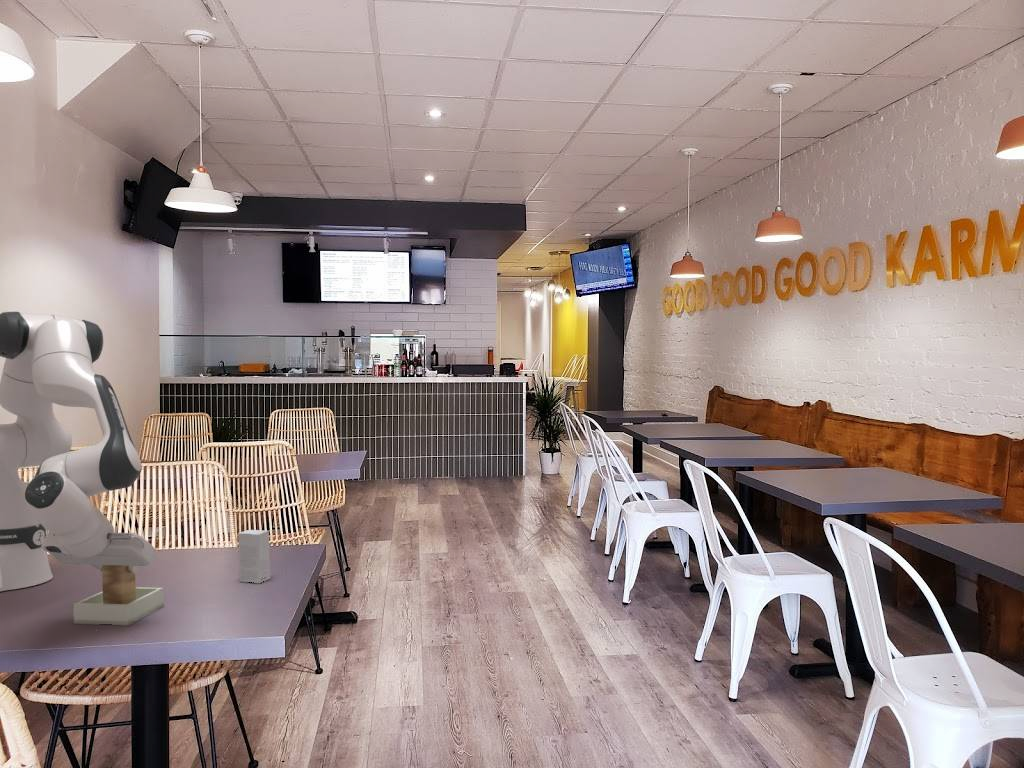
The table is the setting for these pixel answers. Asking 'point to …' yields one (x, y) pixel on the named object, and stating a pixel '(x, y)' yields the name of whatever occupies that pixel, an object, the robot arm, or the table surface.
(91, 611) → the bin
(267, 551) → the skincare box
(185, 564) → the table surface
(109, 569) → the oak block
